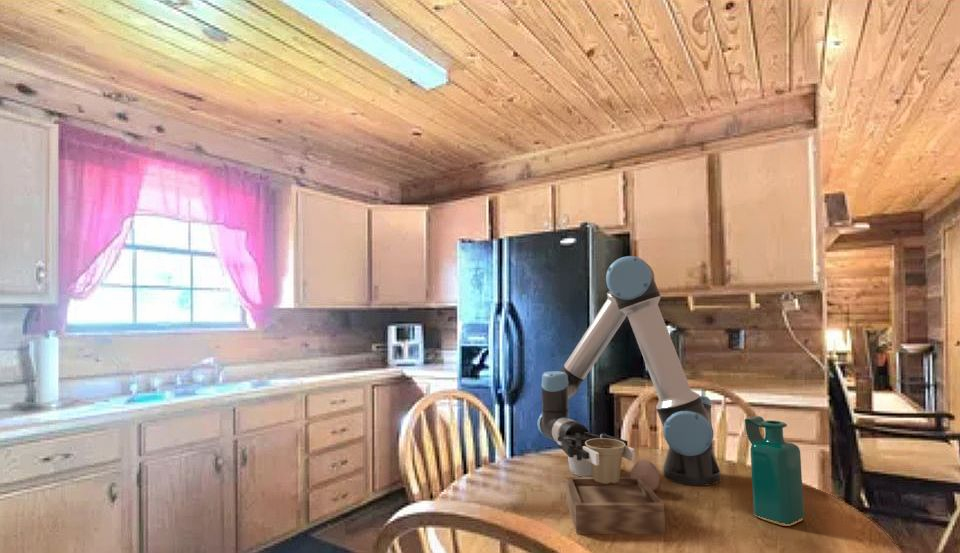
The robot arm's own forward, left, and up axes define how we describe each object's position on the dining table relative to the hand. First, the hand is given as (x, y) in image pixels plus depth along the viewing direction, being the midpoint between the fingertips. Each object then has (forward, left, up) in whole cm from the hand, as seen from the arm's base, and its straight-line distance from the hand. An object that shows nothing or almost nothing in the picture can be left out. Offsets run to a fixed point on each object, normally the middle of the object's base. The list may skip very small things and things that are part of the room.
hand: (615, 457), depth 122 cm
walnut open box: (+1, -3, -15) cm, 15 cm away
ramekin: (+1, -36, -15) cm, 39 cm away
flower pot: (+2, -4, -7) cm, 8 cm away
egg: (-11, -19, -15) cm, 26 cm away
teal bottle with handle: (-36, -2, -15) cm, 39 cm away
